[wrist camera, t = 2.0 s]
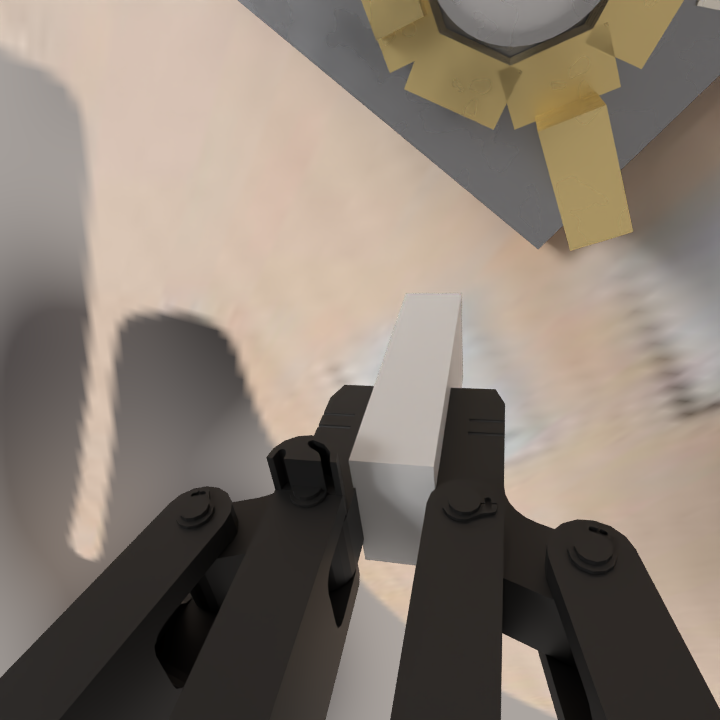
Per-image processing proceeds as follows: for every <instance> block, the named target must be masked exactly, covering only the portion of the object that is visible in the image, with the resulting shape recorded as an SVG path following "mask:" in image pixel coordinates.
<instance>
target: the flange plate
mask: <svg viewBox="0 0 720 720" xmlns="http://www.w3.org/2000/svg"><path fill="white" fill-rule="evenodd" d="M238 1H239V2H240V3H242V4H243V5H244V6H245V7H246V8H248V9H249V10H250V11H251V12H252V13H254V14H255V15H256V16H257V17H258V18H260V19H261V20H262V21H263V22H264V23H266V24H267V25H268V26H269V27H271V28H272V29H273V30H274V31H275V32H277V33H278V34H279V35H280V36H281V37H283V38H284V39H285V40H286V41H287V42H289V43H290V44H291V45H292V46H293V47H295V48H296V49H297V50H298V51H299V52H301V53H302V54H303V55H304V56H306V57H307V58H308V59H309V60H310V61H312V62H313V63H314V64H315V65H316V66H318V67H319V68H320V69H321V70H322V71H324V72H325V73H326V74H327V75H328V76H330V77H331V78H332V79H333V80H334V81H336V82H337V83H338V84H339V85H340V86H342V87H343V88H344V89H345V90H347V91H348V92H349V93H350V94H351V95H353V96H354V97H355V98H356V99H357V100H359V101H360V102H361V103H362V104H363V105H365V106H366V107H367V108H368V109H369V110H371V111H372V112H373V113H374V114H375V115H377V116H378V117H379V118H380V119H382V120H383V121H384V122H385V123H386V124H388V125H389V126H390V127H391V128H392V129H394V130H395V131H396V132H397V133H398V134H400V135H401V136H402V137H403V138H404V139H406V140H407V141H408V142H409V143H410V144H412V145H413V146H414V147H415V148H417V149H418V150H419V151H420V152H421V153H423V154H424V155H425V156H426V157H427V158H429V159H430V160H431V161H432V162H433V163H435V164H436V165H437V166H438V167H439V168H441V169H442V170H443V171H444V172H445V173H447V174H448V175H449V176H450V177H451V178H453V179H454V180H455V181H456V182H458V183H459V184H460V185H461V186H462V187H464V188H465V189H466V190H467V191H468V192H470V193H471V194H472V195H473V196H474V197H476V198H477V199H478V200H479V201H480V202H482V203H483V204H484V205H485V206H486V207H488V208H489V209H490V210H491V211H493V212H494V213H495V214H496V215H497V216H499V217H500V218H501V219H502V220H503V221H505V222H506V223H507V224H508V225H509V226H511V227H512V228H513V229H514V230H515V231H517V232H518V233H519V234H520V235H521V236H523V237H524V238H525V239H526V240H528V241H529V242H530V243H531V244H532V245H534V246H535V247H536V248H537V249H539V248H540V247H541V246H542V245H543V244H544V243H545V242H546V241H547V240H548V239H550V238H551V237H552V236H553V235H554V234H555V233H556V232H557V231H558V230H559V229H560V228H561V227H562V226H563V223H562V219H561V215H560V212H559V208H558V204H557V201H556V197H555V193H554V190H553V186H552V182H551V179H550V175H549V171H548V168H547V164H546V160H545V157H544V153H543V149H542V146H541V142H540V138H539V134H538V130H537V125H536V121H535V122H533V123H530V124H528V125H525V126H523V127H520V128H518V129H515V130H514V126H513V123H512V119H511V116H510V112H509V109H508V105H507V104H506V106H505V108H504V110H503V112H502V114H501V116H500V118H499V120H498V122H497V124H496V126H495V128H494V130H493V129H491V128H489V127H486V126H484V125H482V124H480V123H478V122H475V121H473V120H471V119H469V118H467V117H464V116H462V115H460V114H458V113H455V112H453V111H451V110H449V109H447V108H444V107H442V106H440V105H438V104H436V103H433V102H431V101H429V100H427V99H425V98H422V97H420V96H418V95H416V94H414V93H411V92H409V91H407V90H405V89H404V88H405V85H406V83H407V80H408V77H409V75H410V72H411V69H412V67H413V64H414V62H412V63H410V64H408V65H406V66H404V67H401V68H399V69H397V70H395V71H393V72H391V73H390V72H389V70H388V67H387V64H386V62H385V59H384V56H383V54H382V51H381V48H380V46H379V43H378V40H377V41H376V39H375V36H374V33H373V31H372V28H371V25H370V23H369V20H368V17H367V15H366V12H365V9H364V7H363V4H362V1H361V0H238ZM437 1H438V5H439V8H440V11H441V14H442V17H443V20H444V23H445V26H446V29H448V30H450V31H453V32H455V33H457V34H459V35H461V36H464V37H466V38H468V39H470V40H472V41H475V42H477V43H479V44H481V45H483V46H485V47H488V48H490V49H492V50H494V51H496V52H499V53H501V54H503V55H505V56H507V57H510V58H511V57H513V56H515V55H517V54H520V53H522V52H524V51H526V50H528V49H531V48H533V47H535V46H537V45H539V44H541V43H544V42H546V41H548V40H550V39H552V38H555V37H557V36H559V35H561V34H563V33H566V32H568V31H570V30H572V29H574V28H576V27H579V26H581V25H583V24H585V22H586V20H587V19H588V17H589V15H590V13H591V11H592V9H593V8H594V7H595V6H596V5H597V4H598V3H599V2H600V1H601V0H437ZM615 59H616V64H617V69H618V74H619V79H620V84H621V87H619V88H617V89H614V90H612V91H609V92H607V93H605V94H602V95H600V97H601V99H602V100H603V101H604V102H605V104H606V105H607V110H608V114H609V119H610V124H611V129H612V133H613V138H614V143H615V148H616V152H617V157H618V162H619V167H620V170H621V169H622V168H623V167H625V166H626V165H627V164H628V163H629V162H630V161H631V160H632V159H633V158H634V157H635V156H636V155H637V154H638V153H639V152H640V151H641V150H642V149H643V148H644V147H645V146H646V145H647V144H648V143H649V142H651V141H652V140H653V139H654V138H655V137H656V136H657V135H658V134H659V133H660V132H661V131H662V130H663V129H664V128H665V127H666V126H667V125H668V124H669V123H670V122H671V121H672V120H673V119H674V118H676V117H677V116H678V115H679V114H680V113H681V112H682V111H683V110H684V109H685V108H686V107H687V106H688V105H689V104H690V103H691V102H692V101H693V100H694V99H695V98H696V97H697V96H698V95H699V94H701V93H702V92H703V91H704V90H705V89H706V88H707V87H708V86H709V85H710V84H711V83H712V82H713V81H714V80H715V79H716V78H717V77H718V76H719V75H720V0H684V1H683V3H682V4H681V6H680V8H679V9H678V11H677V13H676V14H675V16H674V17H673V19H672V21H671V22H670V24H669V26H668V27H667V29H666V30H665V32H664V34H663V35H662V37H661V39H660V40H659V42H658V43H657V45H656V47H655V48H654V50H653V52H652V53H651V55H650V57H649V58H648V60H647V61H646V63H645V65H644V66H643V68H642V69H640V68H638V67H636V66H634V65H631V64H629V63H627V62H625V61H623V60H621V59H618V58H616V57H615Z"/></svg>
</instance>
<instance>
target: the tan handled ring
mask: <svg viewBox="0 0 720 720" xmlns="http://www.w3.org/2000/svg"><path fill="white" fill-rule="evenodd" d="M361 1H362V4H363V7H364V9H365V12H366V15H367V17H368V20H369V23H370V25H371V28H372V31H373V33H374V36H375V39H376V41H377V40H378V43H379V46H380V48H381V51H382V54H383V56H384V59H385V62H386V64H387V67H388V70H389V72H390V73H391V72H393V71H395V70H397V69H399V68H401V67H404V66H406V65H408V64H410V63H412V62H414V64H413V67H412V69H411V72H410V75H409V77H408V80H407V83H406V85H405V88H404V89H405V90H407V91H409V92H411V93H414V94H416V95H418V96H420V97H422V98H425V99H427V100H429V101H431V102H433V103H436V104H438V105H440V106H442V107H444V108H447V109H449V110H451V111H453V112H455V113H458V114H460V115H462V116H464V117H467V118H469V119H471V120H473V121H475V122H478V123H480V124H482V125H484V126H486V127H489V128H491V129H493V130H494V128H495V126H496V124H497V122H498V120H499V118H500V116H501V114H502V112H503V110H504V108H505V106H506V104H507V105H508V109H509V112H510V116H511V119H512V123H513V126H514V130H515V129H518V128H520V127H523V126H525V125H528V124H530V123H533V122H535V121H536V125H537V130H538V134H539V138H540V142H541V146H542V149H543V153H544V157H545V160H546V164H547V168H548V171H549V175H550V179H551V182H552V186H553V190H554V193H555V197H556V201H557V204H558V208H559V212H560V215H561V219H562V223H563V226H564V230H565V234H566V238H567V241H568V245H569V249H570V251H572V250H575V249H578V248H582V247H585V246H588V245H592V244H595V243H598V242H602V241H605V240H608V239H612V238H615V237H618V236H621V235H625V234H628V233H631V232H633V228H632V223H631V219H630V214H629V209H628V204H627V200H626V195H625V190H624V185H623V181H622V176H621V171H620V167H619V162H618V157H617V152H616V148H615V143H614V138H613V133H612V129H611V124H610V119H609V114H608V110H607V105H606V104H605V102H604V101H603V100H602V99H601V97H600V95H602V94H605V93H607V92H609V91H612V90H614V89H617V88H619V87H621V84H620V79H619V74H618V69H617V64H616V59H615V57H616V58H618V59H621V60H623V61H625V62H627V63H629V64H631V65H634V66H636V67H638V68H640V69H642V68H643V66H644V65H645V63H646V61H647V60H648V58H649V57H650V55H651V53H652V52H653V50H654V48H655V47H656V45H657V43H658V42H659V40H660V39H661V37H662V35H663V34H664V32H665V30H666V29H667V27H668V26H669V24H670V22H671V21H672V19H673V17H674V16H675V14H676V13H677V11H678V9H679V8H680V6H681V4H682V3H683V1H684V0H601V1H600V2H599V3H598V4H597V5H596V6H595V7H594V8H593V9H592V11H591V13H590V15H589V17H588V19H587V20H586V22H585V24H583V25H581V26H579V27H576V28H574V29H572V30H570V31H568V32H566V33H563V34H561V35H559V36H557V37H555V38H552V39H550V40H548V41H546V42H544V43H541V44H539V45H537V46H535V47H533V48H531V49H528V50H526V51H524V52H522V53H520V54H517V55H515V56H513V57H511V58H510V57H507V56H505V55H503V54H501V53H499V52H496V51H494V50H492V49H490V48H488V47H485V46H483V45H481V44H479V43H477V42H475V41H472V40H470V39H468V38H466V37H464V36H461V35H459V34H457V33H455V32H453V31H450V30H448V29H446V26H445V23H444V20H443V17H442V14H441V11H440V8H439V5H438V1H437V0H361Z"/></svg>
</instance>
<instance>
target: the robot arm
mask: <svg viewBox="0 0 720 720" xmlns="http://www.w3.org/2000/svg"><path fill="white" fill-rule="evenodd" d="M462 380H463V355H462V295H461V293H406V294H405V297H404V300H403V303H402V306H401V309H400V312H399V315H398V318H397V321H396V324H395V327H394V329H393V332H392V335H391V338H390V341H389V344H388V347H387V350H386V353H385V356H384V359H383V362H382V364H381V367H380V370H379V373H378V376H377V379H376V382H375V385H374V386H357V385H344V386H343V387H342V388H341V389H340V390H339V391H337V392H336V393H335V394H334V395H333V396H332V397H331V398H330V400H329V403H328V405H327V407H326V409H325V412H324V415H323V416H322V419H321V421H320V423H319V427H318V428H317V430H316V432H315V435H314V436H312V435H310V436H298V437H295V438H292V439H289V440H286V441H284V442H282V443H281V444H279V445H278V446H276V447H275V448H273V450H272V451H271V452H270V453H269V455H268V456H267V461H268V465H269V468H270V472H271V475H272V479H273V482H274V486H275V492H274V493H273V494H270V495H268V496H264V497H260V498H255V499H249V500H244V501H238V502H232V501H231V499H230V497H229V495H228V493H226V492H225V491H223V490H221V489H220V488H216V487H215V488H214V487H202V488H195V489H192V490H190V491H188V492H186V493H183V494H181V495H180V496H178V497H177V498H176V499H175V500H173V501H172V502H171V503H170V504H169V505H168V506H167V507H166V508H165V509H164V510H163V511H162V512H161V513H160V514H159V515H158V516H157V517H156V518H155V519H154V520H153V521H152V522H151V523H150V524H149V525H148V526H147V527H146V528H145V529H144V530H143V532H141V534H140V535H138V537H137V538H136V539H135V540H134V541H133V542H132V543H131V544H130V545H129V546H128V547H127V548H126V549H125V550H124V551H123V552H122V553H121V554H120V555H119V556H118V557H117V558H116V559H115V560H114V561H113V562H112V563H111V564H110V565H109V567H107V569H106V570H105V571H104V572H103V573H102V574H101V575H100V576H99V577H98V578H97V579H96V580H95V581H94V582H93V583H92V584H91V585H90V586H89V587H88V588H87V589H86V590H85V591H84V592H83V593H82V594H81V595H80V596H79V597H78V598H77V599H76V600H75V602H73V604H72V605H71V606H70V607H69V608H68V609H67V610H66V611H65V612H64V613H63V614H62V615H61V616H60V617H59V618H58V619H57V620H56V621H55V622H54V623H53V624H52V625H51V626H50V628H48V629H47V630H46V631H45V632H44V633H43V634H42V635H41V636H40V637H39V639H38V640H37V641H36V642H35V643H34V644H33V645H32V646H31V647H30V648H29V649H28V650H27V651H26V652H25V653H24V654H23V655H22V656H21V657H20V658H19V659H18V660H17V661H16V662H15V663H14V664H13V665H12V666H11V667H10V668H9V669H8V670H7V672H6V673H5V674H4V675H3V676H2V677H1V678H0V720H325V719H326V715H327V711H328V707H329V703H330V699H331V695H332V691H333V687H334V683H335V679H336V675H337V671H338V667H339V663H340V659H341V655H342V651H343V647H344V643H345V639H346V635H347V631H348V627H349V623H350V619H351V615H352V611H353V607H354V603H355V599H356V595H357V591H358V587H359V576H360V573H359V568H358V560H359V556H360V552H361V549H362V545H363V548H364V554H365V559H367V560H375V561H383V562H392V563H400V564H408V565H416V569H415V575H414V581H413V587H412V593H411V599H410V605H409V611H408V617H407V623H406V629H405V635H404V641H403V647H402V653H401V659H400V666H399V671H398V677H397V683H396V689H395V695H394V701H393V707H392V713H391V719H390V720H501V672H502V633H503V634H505V635H507V636H509V637H511V638H514V639H516V640H518V641H520V642H522V643H524V644H526V645H528V646H530V647H532V648H534V649H536V650H538V653H539V656H540V660H541V663H542V666H543V670H544V673H545V677H546V680H547V684H548V687H549V691H550V694H551V698H552V701H553V704H554V708H555V711H556V715H557V718H558V720H720V709H719V707H718V705H717V703H716V701H715V699H714V697H713V695H712V694H711V692H710V690H709V688H708V686H707V684H706V682H705V680H704V678H703V676H702V674H701V673H700V671H699V669H698V667H697V665H696V663H695V661H694V659H693V657H692V655H691V654H690V652H689V650H688V648H687V646H686V644H685V642H684V640H683V638H682V636H681V635H680V633H679V631H678V629H677V627H676V625H675V623H674V621H673V619H672V617H671V616H670V614H669V612H668V610H667V608H666V606H665V604H664V602H663V600H662V598H661V596H660V595H659V593H658V591H657V589H656V587H655V585H654V583H653V581H652V579H651V577H650V576H649V574H648V572H647V570H646V568H645V566H644V564H643V562H642V560H641V558H640V557H639V555H638V553H637V551H636V549H635V548H634V547H633V545H632V544H631V543H630V542H629V540H628V539H627V538H626V537H625V536H624V535H623V534H621V533H620V532H618V531H617V530H615V529H614V528H612V527H611V526H608V525H605V524H602V523H599V522H596V521H592V520H573V521H570V522H566V523H562V524H561V525H560V526H558V527H557V528H556V529H552V528H550V527H547V526H544V525H541V524H539V523H536V522H534V521H532V520H530V519H528V518H526V517H524V516H523V515H522V514H520V513H519V512H517V511H516V510H515V509H514V507H513V506H512V505H511V504H510V503H509V501H508V499H507V497H506V495H505V490H504V438H505V437H504V435H505V403H504V402H503V400H502V399H501V397H500V396H499V394H498V392H497V391H496V389H471V388H462Z"/></svg>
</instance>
